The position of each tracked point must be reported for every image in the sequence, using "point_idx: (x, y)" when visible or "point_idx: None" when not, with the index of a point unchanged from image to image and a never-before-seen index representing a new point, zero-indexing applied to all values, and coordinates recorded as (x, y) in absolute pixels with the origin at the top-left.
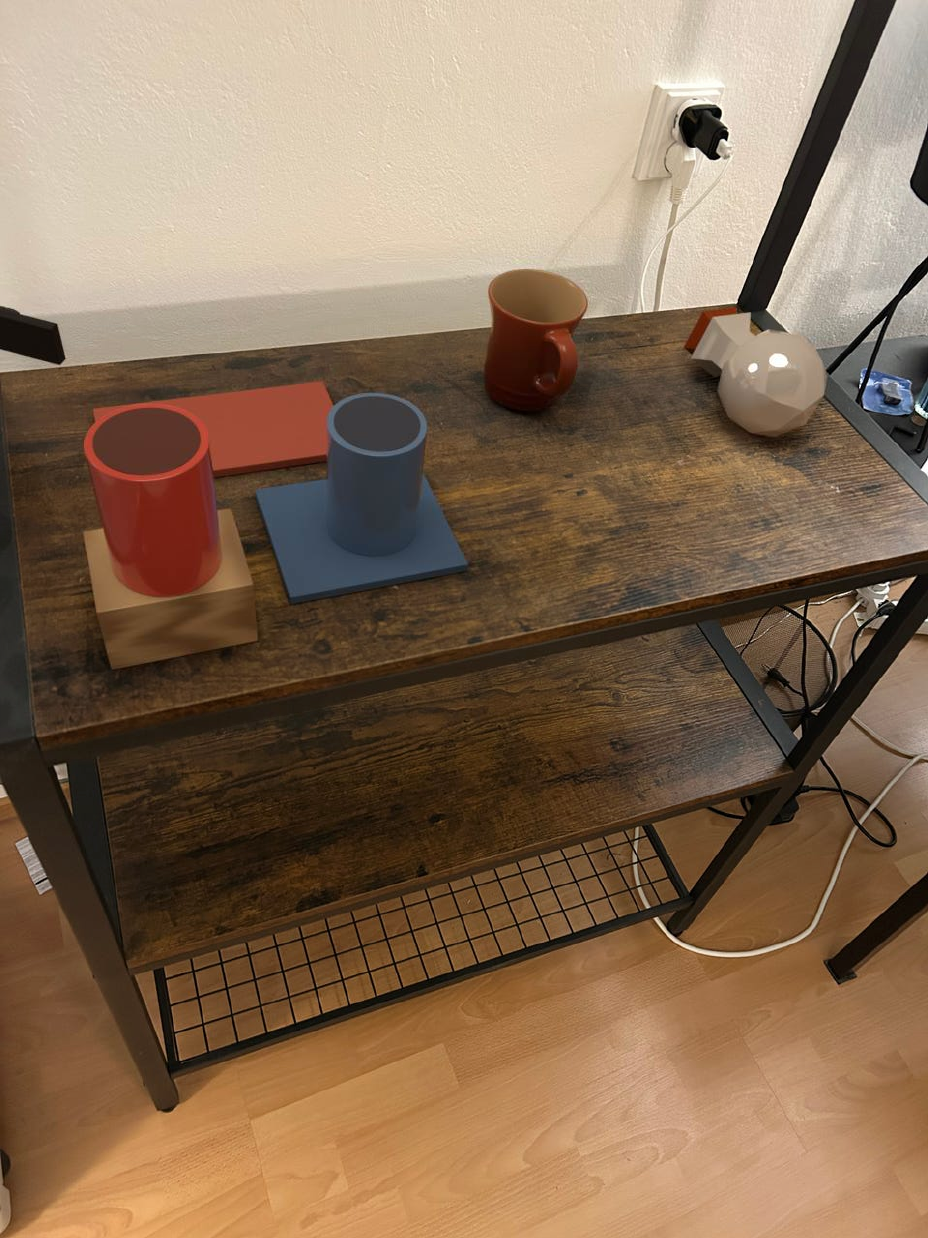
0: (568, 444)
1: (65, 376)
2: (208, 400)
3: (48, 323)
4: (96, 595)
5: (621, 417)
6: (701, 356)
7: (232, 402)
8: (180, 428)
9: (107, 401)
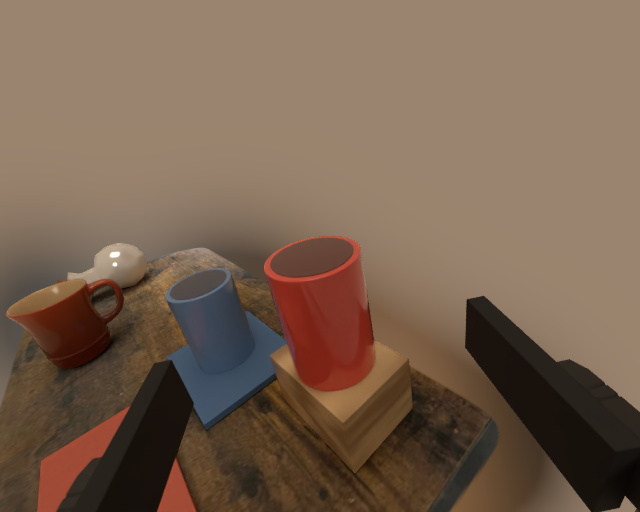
0: (142, 321)
1: None
2: None
3: (154, 371)
4: (396, 368)
5: (120, 314)
6: None
7: None
8: (289, 252)
9: None
